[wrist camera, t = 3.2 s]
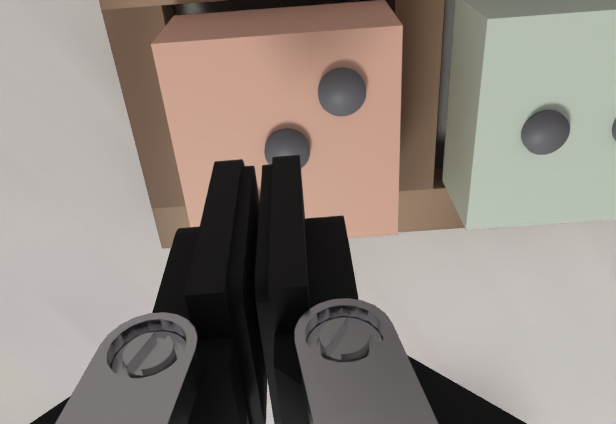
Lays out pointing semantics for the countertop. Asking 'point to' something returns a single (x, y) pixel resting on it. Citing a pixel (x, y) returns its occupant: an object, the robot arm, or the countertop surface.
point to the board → (157, 140)
